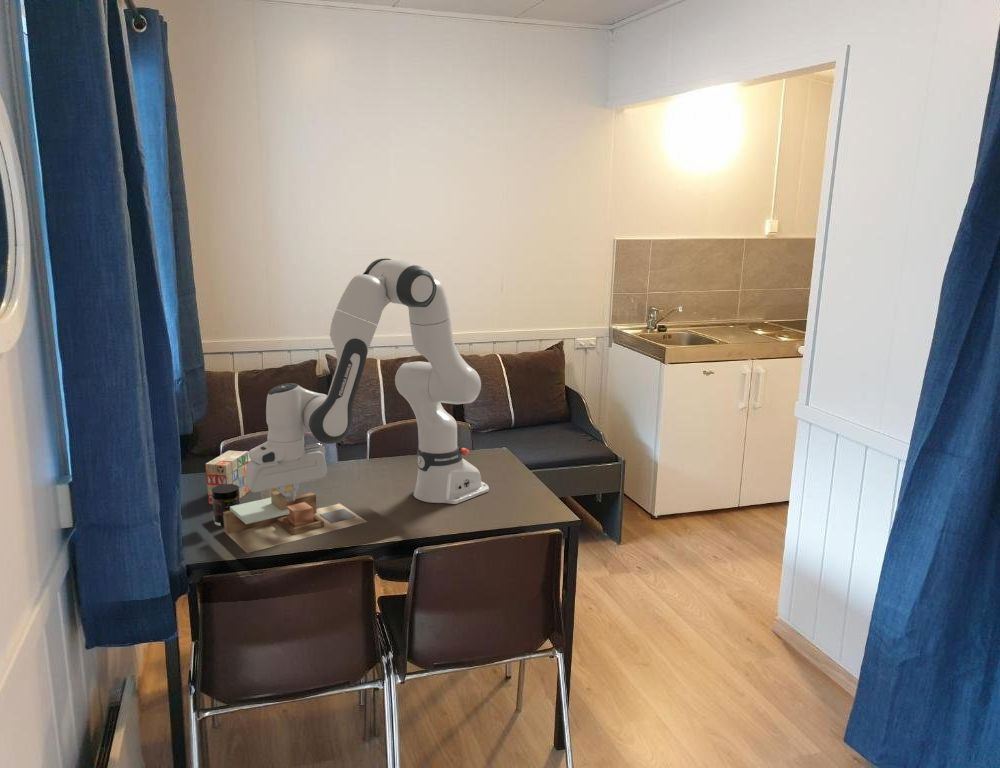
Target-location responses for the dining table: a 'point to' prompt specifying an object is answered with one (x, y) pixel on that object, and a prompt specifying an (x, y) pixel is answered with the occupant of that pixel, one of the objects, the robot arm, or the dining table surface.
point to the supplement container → (224, 500)
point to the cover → (262, 508)
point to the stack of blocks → (227, 471)
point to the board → (281, 531)
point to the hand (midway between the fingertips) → (288, 501)
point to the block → (300, 514)
